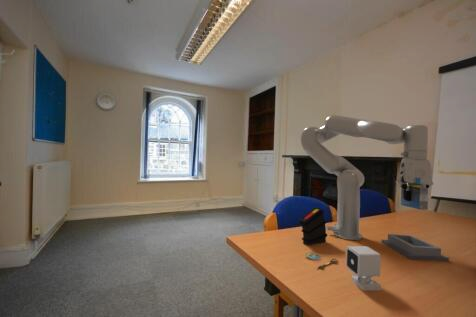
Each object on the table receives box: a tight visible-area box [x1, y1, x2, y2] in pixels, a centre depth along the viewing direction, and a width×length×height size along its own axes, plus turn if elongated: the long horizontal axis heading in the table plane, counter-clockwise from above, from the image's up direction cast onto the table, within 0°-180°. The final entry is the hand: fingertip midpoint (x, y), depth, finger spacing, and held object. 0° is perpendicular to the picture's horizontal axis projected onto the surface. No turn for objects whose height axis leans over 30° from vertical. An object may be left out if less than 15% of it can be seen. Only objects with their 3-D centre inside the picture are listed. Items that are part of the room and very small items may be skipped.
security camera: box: [345, 245, 382, 292], centre depth 63 cm, size 6×7×10 cm
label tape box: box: [400, 178, 429, 211], centre depth 90 cm, size 9×4×12 cm, turn 6°
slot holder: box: [381, 233, 450, 262], centre depth 90 cm, size 14×17×4 cm
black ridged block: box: [298, 206, 328, 247], centre depth 95 cm, size 4×13×15 cm, turn 118°
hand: (413, 200), depth 90 cm, fingers closed on label tape box, 4 cm apart
